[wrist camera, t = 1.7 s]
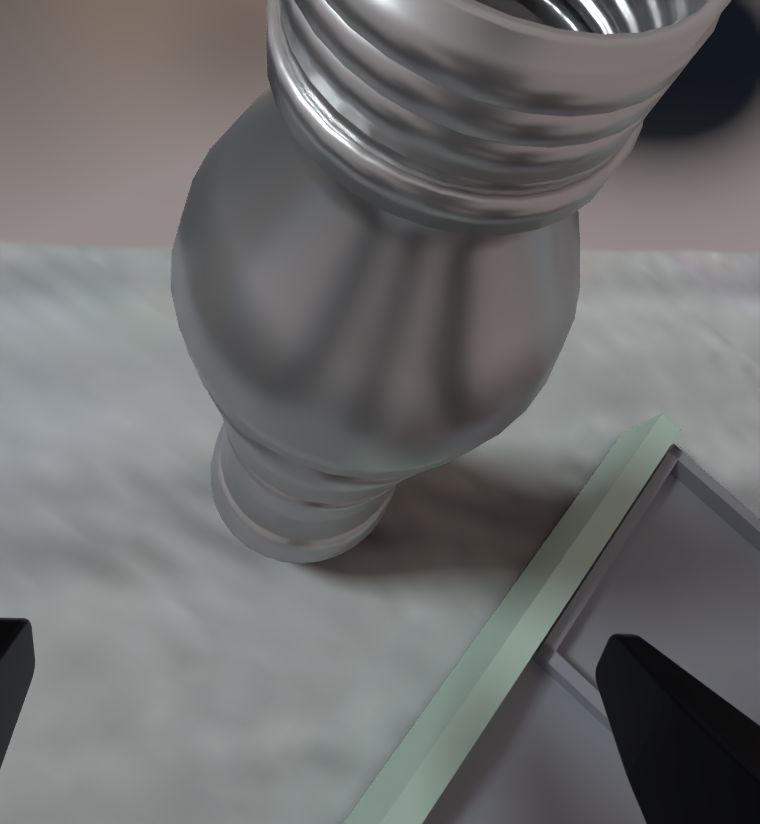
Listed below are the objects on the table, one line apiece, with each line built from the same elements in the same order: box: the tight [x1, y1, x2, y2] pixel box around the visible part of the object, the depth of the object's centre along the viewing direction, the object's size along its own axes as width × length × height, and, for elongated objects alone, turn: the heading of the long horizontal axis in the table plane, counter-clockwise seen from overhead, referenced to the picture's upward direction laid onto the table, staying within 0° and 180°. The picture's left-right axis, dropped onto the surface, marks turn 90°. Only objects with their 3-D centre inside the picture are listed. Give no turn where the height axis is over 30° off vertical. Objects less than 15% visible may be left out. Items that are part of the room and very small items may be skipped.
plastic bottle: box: [171, 0, 731, 563], centre depth 13 cm, size 6×7×20 cm
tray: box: [343, 413, 760, 824], centre depth 20 cm, size 22×13×3 cm, turn 139°
